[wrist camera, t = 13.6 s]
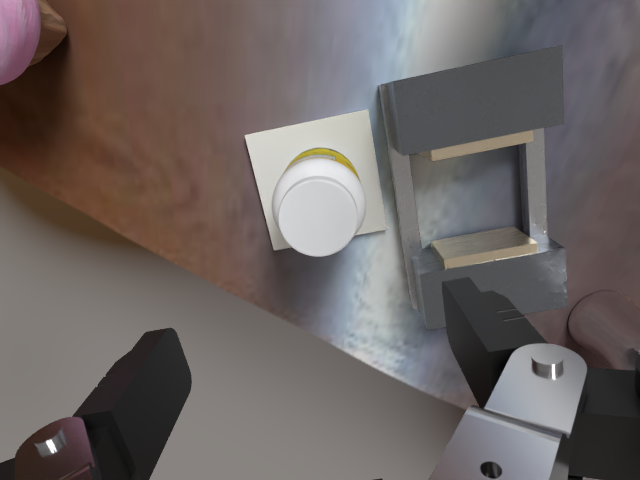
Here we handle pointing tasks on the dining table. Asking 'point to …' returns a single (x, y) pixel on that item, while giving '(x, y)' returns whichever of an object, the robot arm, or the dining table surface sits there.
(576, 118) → the dining table surface
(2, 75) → the cupcake
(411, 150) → the bench vise
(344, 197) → the pill bottle
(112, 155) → the dining table surface
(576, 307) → the beer glass
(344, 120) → the placing pad
